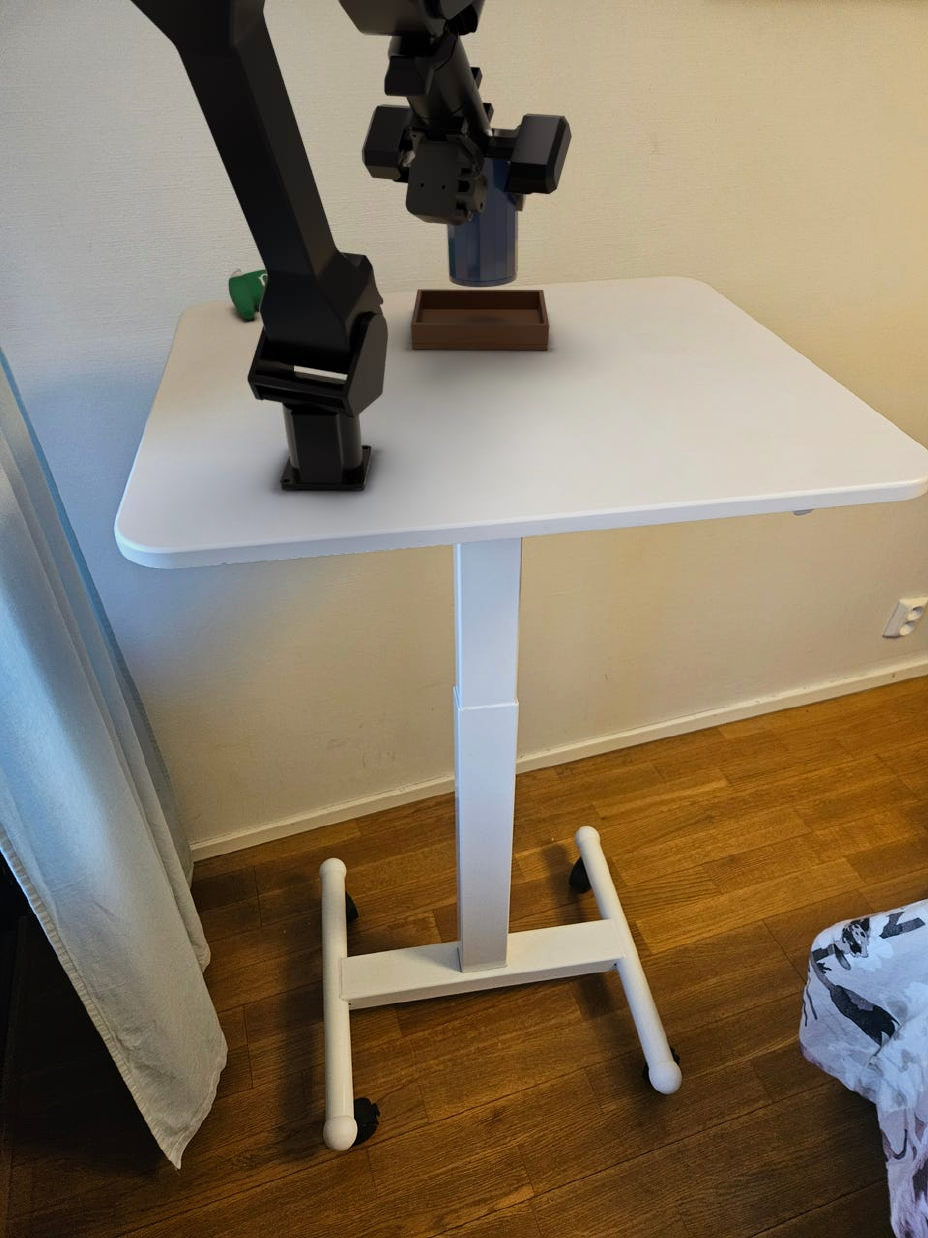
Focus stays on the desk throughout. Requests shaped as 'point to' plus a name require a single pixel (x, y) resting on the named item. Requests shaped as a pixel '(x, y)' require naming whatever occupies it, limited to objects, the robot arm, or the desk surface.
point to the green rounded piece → (246, 291)
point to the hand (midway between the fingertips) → (486, 203)
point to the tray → (480, 320)
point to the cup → (486, 236)
